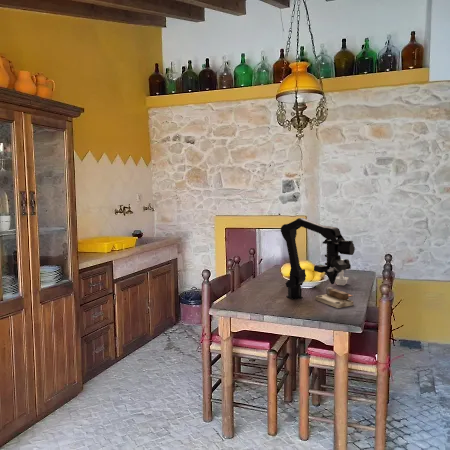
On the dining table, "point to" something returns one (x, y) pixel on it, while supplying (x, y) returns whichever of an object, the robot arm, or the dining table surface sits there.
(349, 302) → the birch seat
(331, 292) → the walnut leg
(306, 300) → the dining table surface
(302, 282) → the robot arm
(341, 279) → the figurine
